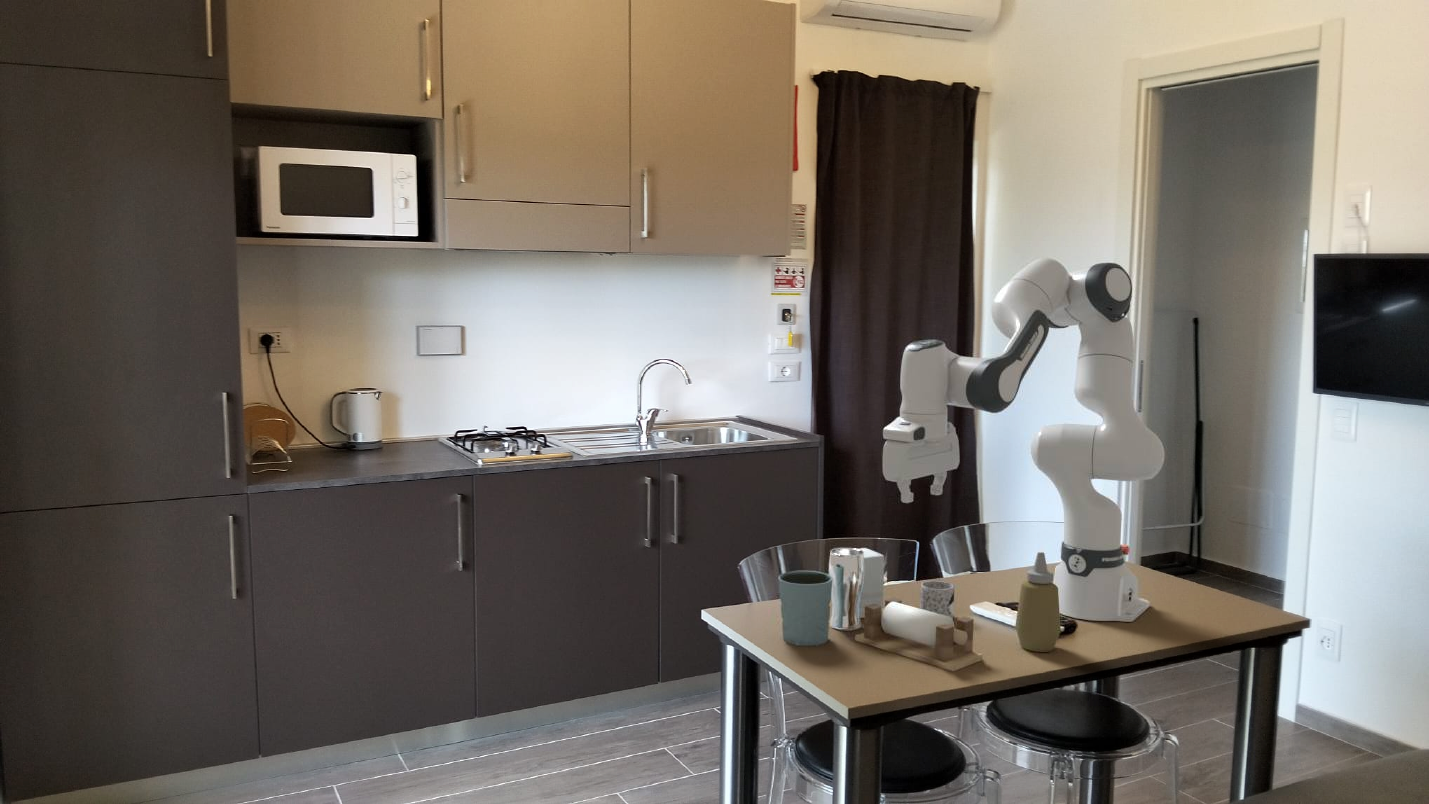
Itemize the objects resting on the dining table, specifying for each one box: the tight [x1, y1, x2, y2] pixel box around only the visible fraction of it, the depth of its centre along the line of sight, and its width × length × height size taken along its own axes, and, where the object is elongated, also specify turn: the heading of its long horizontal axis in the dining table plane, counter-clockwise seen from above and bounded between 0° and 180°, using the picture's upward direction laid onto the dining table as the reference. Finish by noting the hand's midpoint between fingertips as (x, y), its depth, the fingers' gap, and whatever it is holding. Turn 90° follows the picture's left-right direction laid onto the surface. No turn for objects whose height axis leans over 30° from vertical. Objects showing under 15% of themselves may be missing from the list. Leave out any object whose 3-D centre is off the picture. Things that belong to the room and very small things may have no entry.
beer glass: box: [828, 547, 865, 632], centre depth 207 cm, size 7×7×15 cm
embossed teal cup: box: [777, 570, 833, 647], centre depth 199 cm, size 10×10×12 cm
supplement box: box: [858, 547, 885, 619], centre depth 216 cm, size 7×7×13 cm
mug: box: [919, 580, 955, 621], centre depth 216 cm, size 10×7×7 cm
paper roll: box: [881, 602, 968, 648], centre depth 194 cm, size 20×6×6 cm, turn 43°
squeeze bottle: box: [1015, 551, 1062, 653], centre depth 195 cm, size 8×8×18 cm
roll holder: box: [854, 597, 983, 672], centre depth 194 cm, size 22×9×7 cm, turn 43°
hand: (921, 498), depth 201 cm, fingers open, 8 cm apart
